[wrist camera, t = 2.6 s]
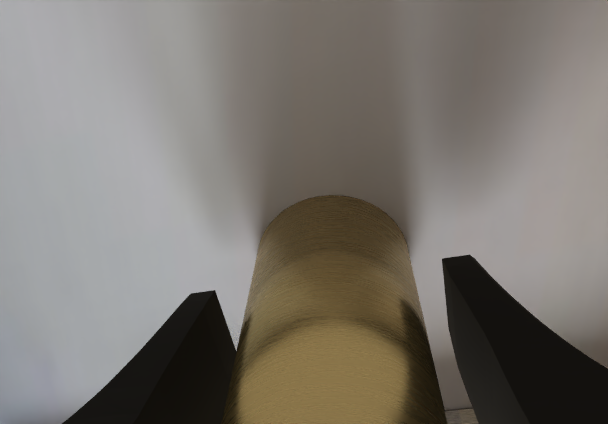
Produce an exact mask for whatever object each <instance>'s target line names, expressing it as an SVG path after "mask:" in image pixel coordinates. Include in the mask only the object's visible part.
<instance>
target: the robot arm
mask: <svg viewBox="0 0 608 424" xmlns="http://www.w3.org/2000/svg"><path fill="white" fill-rule="evenodd" d="M442 264H443V274H444V285H445V295H446V306H447V316H448V327H449V332H450V336H451V340H452V344H453V349H454V353H455V357H456V361H457V365H458V369H459V371H460V374H461V377H462V380H463V383H464V385H465V388H466V391H467V394H468V396H469V399H470V402H471V404H472V407H473V410H474V413H475V415H476V418H477V421H478V423H479V424H608V369H607V368H606V367H604V366H602V365H601V364H599V363H597V362H596V361H594V360H593V359H591V358H590V357H588V356H587V355H585V354H584V353H582V352H581V351H579V350H578V349H576V348H575V347H573V346H572V345H571V344H569V343H568V342H566V341H565V340H564V339H562V338H561V337H560V336H558V335H557V334H556V333H554V332H553V331H552V330H551V329H549V328H548V327H547V326H546V325H544V324H543V323H542V322H540V321H539V320H538V319H537V318H536V317H534V316H533V315H532V314H531V313H530V312H529V311H527V310H526V309H525V308H524V307H523V306H522V305H521V304H520V303H518V302H517V301H516V300H515V299H514V298H513V297H512V296H511V295H510V294H509V293H507V292H506V291H505V290H504V289H503V288H502V287H501V286H500V285H499V284H498V283H497V282H496V281H495V280H494V279H493V278H492V277H491V276H490V275H489V274H488V273H487V272H486V270H485V269H484V268H483V267H482V266H481V265H480V264H479V263H478V262H477V261H476V259H475V258H473V257H472V256H470V255H465V256H458V257H451V258H443V259H442ZM235 357H236V350H235V347H234V344H233V341H232V338H231V335H230V332H229V329H228V326H227V324H226V321H225V318H224V315H223V312H222V309H221V306H220V303H219V300H218V298H217V295H216V292H215V290H214V291H207V292H199V293H192V294H190V295H189V296H188V297H187V298H186V299H185V300H184V301H183V303H182V304H181V305H180V306H179V307H178V308H177V309H176V311H175V312H174V313H173V314H172V315H171V316H170V317H169V319H168V320H167V321H166V322H165V323H164V324H163V325H162V327H161V328H160V329H159V330H158V331H157V332H156V333H155V334H154V336H153V337H152V338H151V339H150V340H149V341H148V342H147V343H146V345H145V346H144V347H143V348H142V349H141V350H140V351H139V352H138V353H137V354H136V355H135V356H134V357H133V358H132V360H131V361H130V362H129V363H128V364H127V365H126V366H125V367H124V368H123V369H122V370H121V371H120V372H119V373H118V374H117V375H116V376H115V377H114V378H113V379H112V380H111V381H110V382H109V383H108V384H107V385H106V386H105V387H104V388H103V389H102V390H101V391H99V392H98V393H97V394H96V395H95V396H94V397H93V398H92V399H91V400H90V401H88V402H87V403H86V404H85V405H84V406H83V407H81V408H80V409H79V410H78V411H77V412H76V413H75V414H73V415H72V416H71V417H70V418H69V419H67V420H66V421H65V422H64V423H62V424H221V423H222V418H223V413H224V409H225V404H226V399H227V395H228V390H229V385H230V380H231V376H232V371H233V366H234V362H235Z"/></svg>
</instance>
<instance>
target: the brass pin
mask: <svg viewBox="0 0 608 424" xmlns="http://www.w3.org/2000/svg"><path fill="white" fill-rule="evenodd" d="M221 424H448V423H447V419H446V414H445V410H444V406H443V401H442V397H441V393H440V388H439V384H438V379H437V375H436V371H435V366H434V362H433V358H432V353H431V349H430V344H429V340H428V336H427V331H426V327H425V323H424V318H423V314H422V309H421V305H420V301H419V296H418V292H417V288H416V283H415V279H414V274H413V270H412V266H411V261H410V257H409V253H408V248H407V244H406V241H405V238H404V236H403V234H402V232H401V230H400V229H399V227H398V226H397V224H396V223H395V222H394V221H393V220H392V219H391V218H390V217H389V216H388V215H387V214H386V213H385V212H383V211H382V210H380V209H379V208H377V207H376V206H374V205H372V204H370V203H368V202H365V201H363V200H360V199H356V198H352V197H346V196H333V195H329V196H319V197H314V198H310V199H306V200H303V201H301V202H298V203H296V204H294V205H292V206H290V207H289V208H287V209H286V210H284V211H283V212H281V213H280V214H279V215H278V216H277V217H276V218H275V219H274V220H273V221H272V222H271V223H270V224H269V226H268V227H267V229H266V230H265V232H264V234H263V236H262V239H261V241H260V245H259V249H258V254H257V258H256V263H255V268H254V272H253V277H252V282H251V286H250V291H249V296H248V301H247V305H246V310H245V315H244V319H243V324H242V329H241V333H240V338H239V343H238V348H237V352H236V357H235V362H234V366H233V371H232V376H231V380H230V385H229V390H228V395H227V399H226V404H225V409H224V413H223V418H222V423H221Z"/></svg>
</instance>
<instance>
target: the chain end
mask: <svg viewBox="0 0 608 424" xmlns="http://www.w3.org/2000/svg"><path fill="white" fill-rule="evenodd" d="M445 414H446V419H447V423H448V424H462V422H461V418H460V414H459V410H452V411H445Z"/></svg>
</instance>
